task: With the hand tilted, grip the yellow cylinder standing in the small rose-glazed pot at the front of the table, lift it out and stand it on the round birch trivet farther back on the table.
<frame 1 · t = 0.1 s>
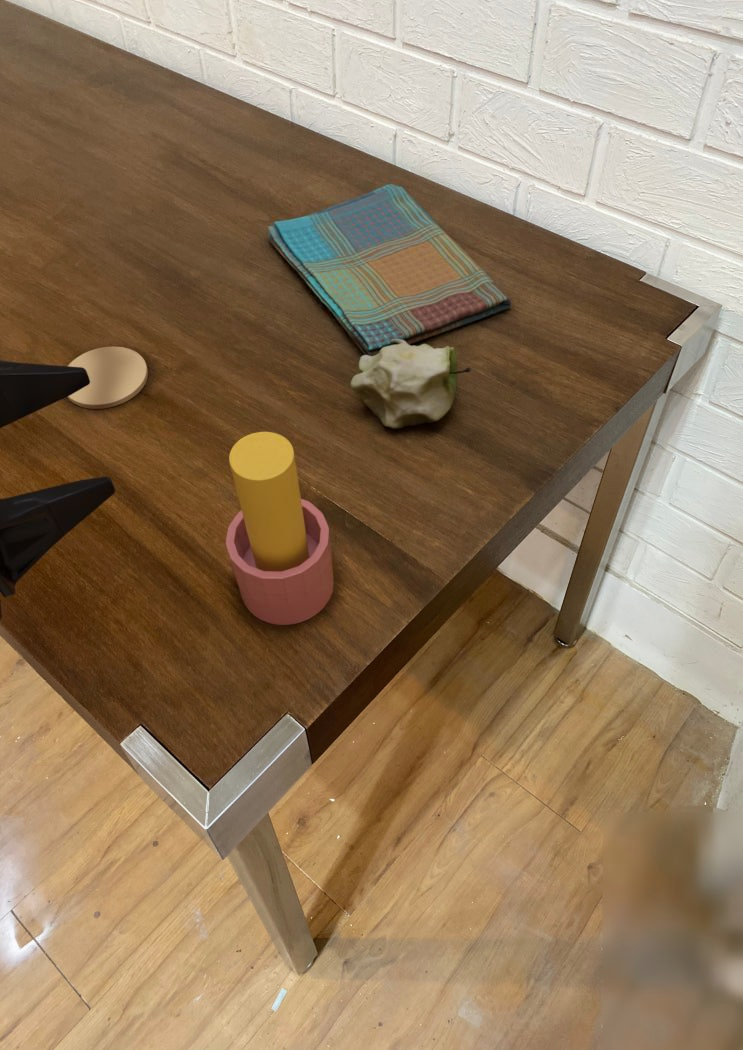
hand: (99, 426, 45), 18 cm above the table, tool horizontal, fingers open, 9 cm apart
fruit: (408, 405, 71), on the table
yellow cylinder: (283, 562, 58), point 3 cm above the table, touching pot
pot: (287, 584, 60), on the table
dish towel: (384, 275, 83), on the table
trivet: (105, 379, 74), on the table
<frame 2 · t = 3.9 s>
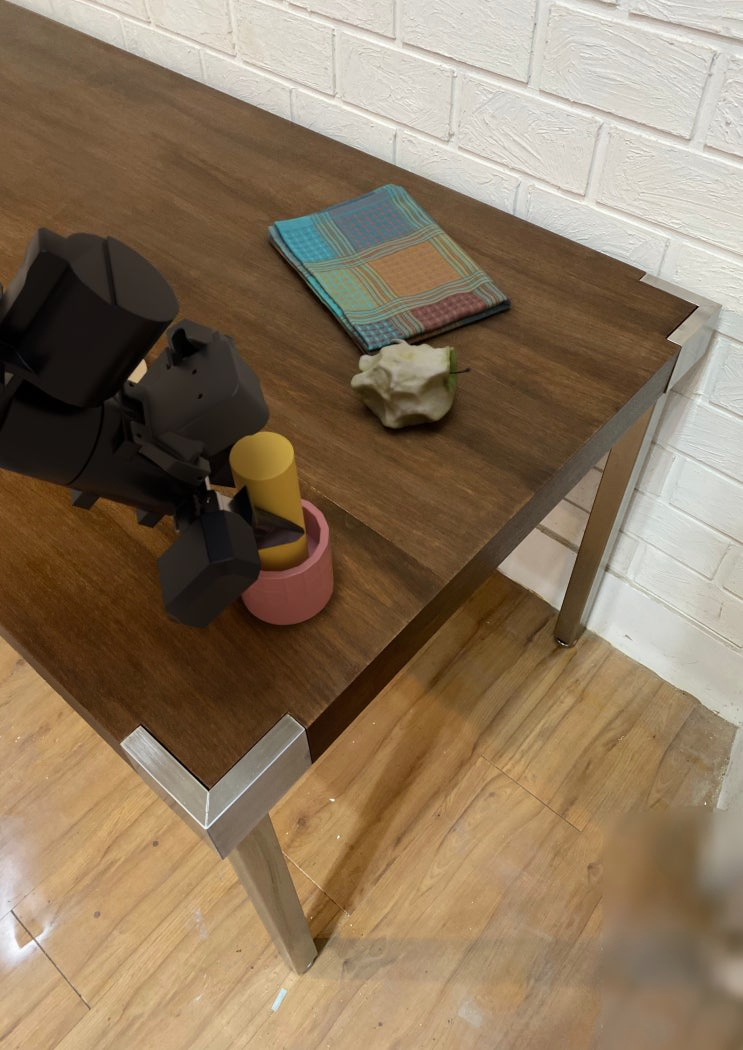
hand: (293, 511, 53), 9 cm above the table, tool tilted 45°, fingers closed on yellow cylinder, 4 cm apart
yellow cylinder: (282, 562, 58), point 3 cm above the table, touching gripper, pot
everything else where it was.
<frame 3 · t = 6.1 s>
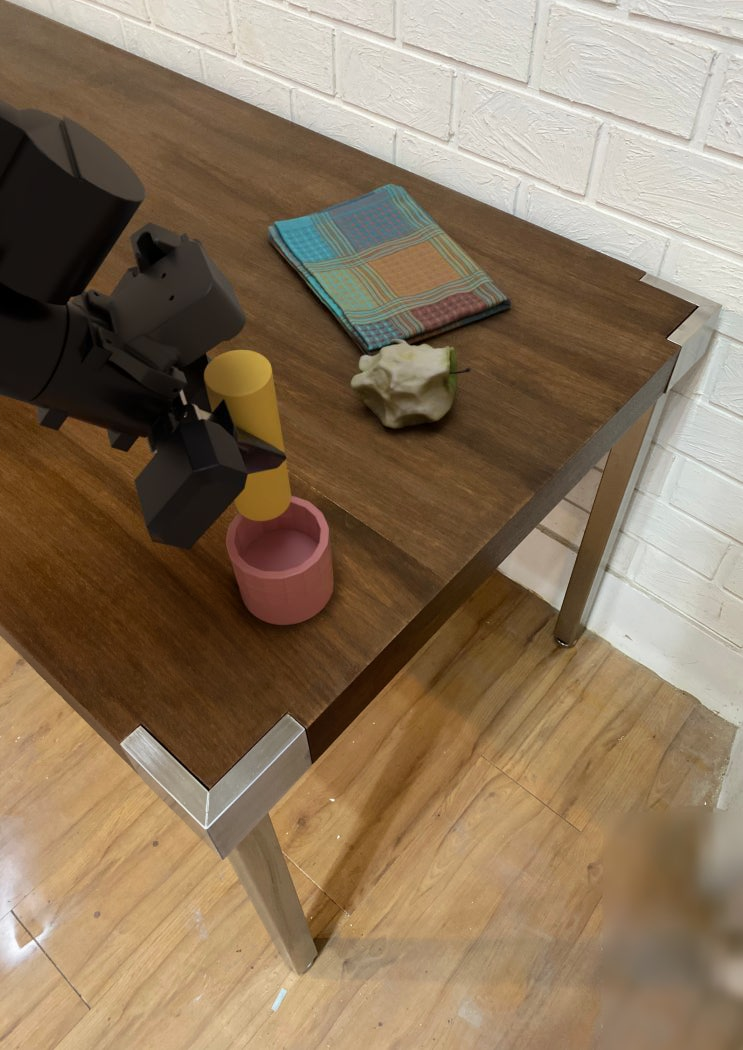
hand: (272, 438, 51), 13 cm above the table, tool tilted 45°, fingers closed on yellow cylinder, 4 cm apart
yellow cylinder: (263, 498, 55), point 8 cm above the table, touching gripper
everything else where it was.
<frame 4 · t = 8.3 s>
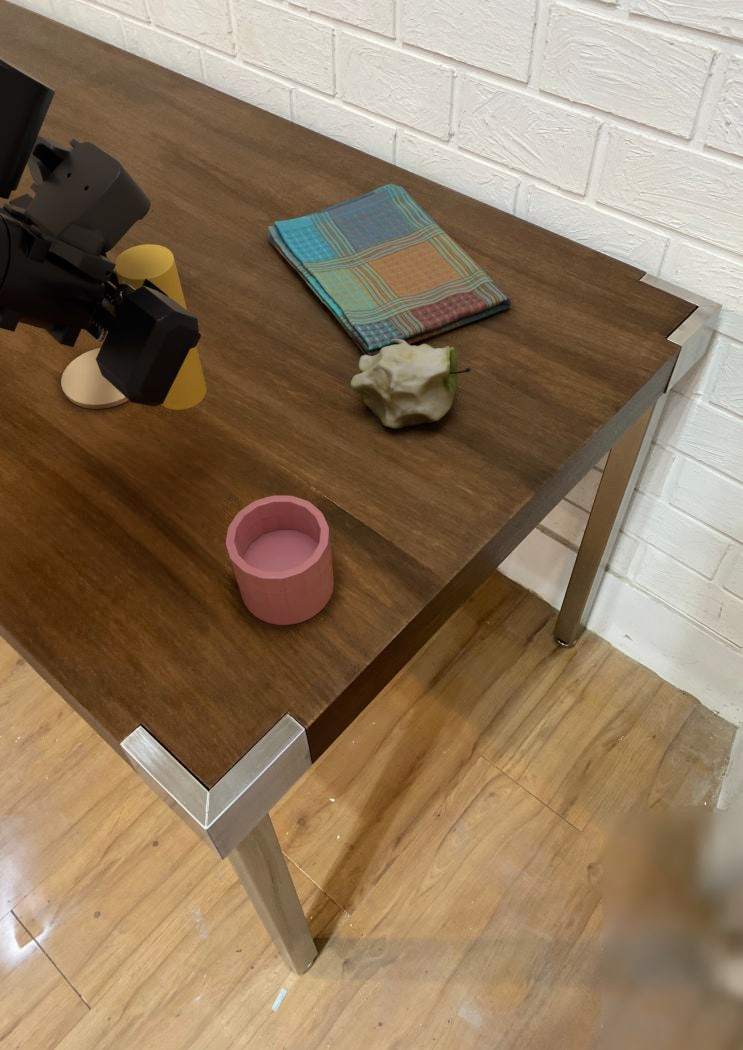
hand: (180, 326, 58), 13 cm above the table, tool tilted 45°, fingers closed on yellow cylinder, 4 cm apart
yellow cylinder: (181, 392, 62), point 8 cm above the table, touching gripper
everything else where it was.
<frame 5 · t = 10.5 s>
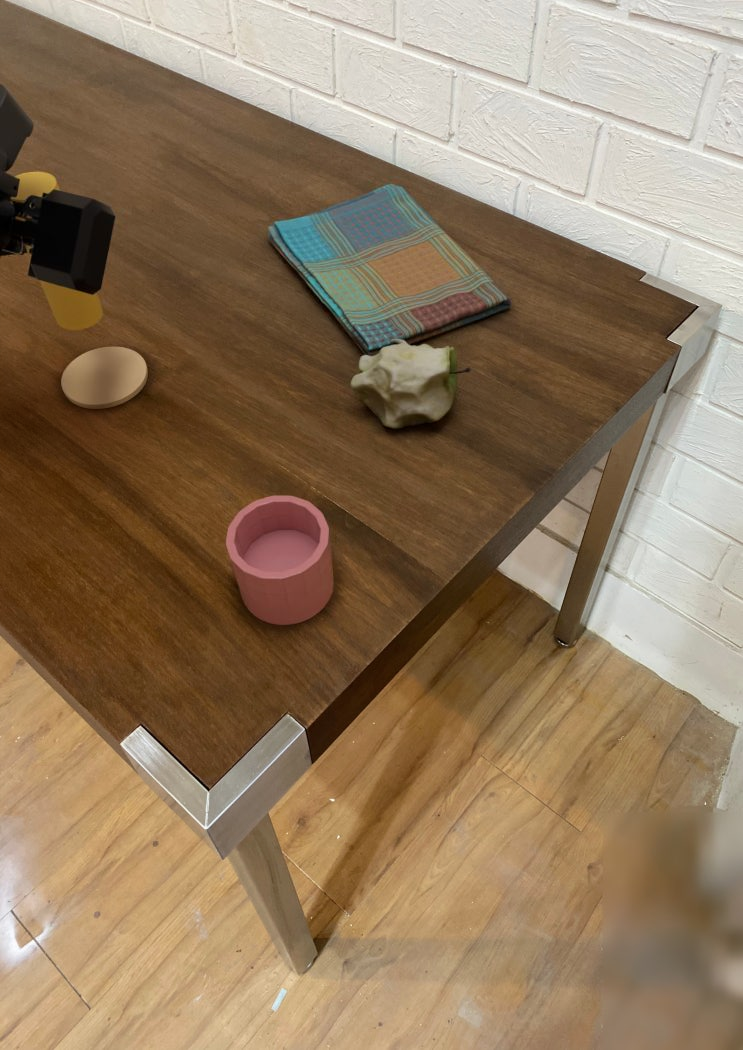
hand: (67, 248, 64), 13 cm above the table, tool tilted 45°, fingers closed on yellow cylinder, 4 cm apart
yellow cylinder: (79, 315, 68), point 8 cm above the table, touching gripper
everything else where it was.
when the fingers open (6 cm above the table, at t = 12.8 s): yellow cylinder stays where it is, resting on trivet.
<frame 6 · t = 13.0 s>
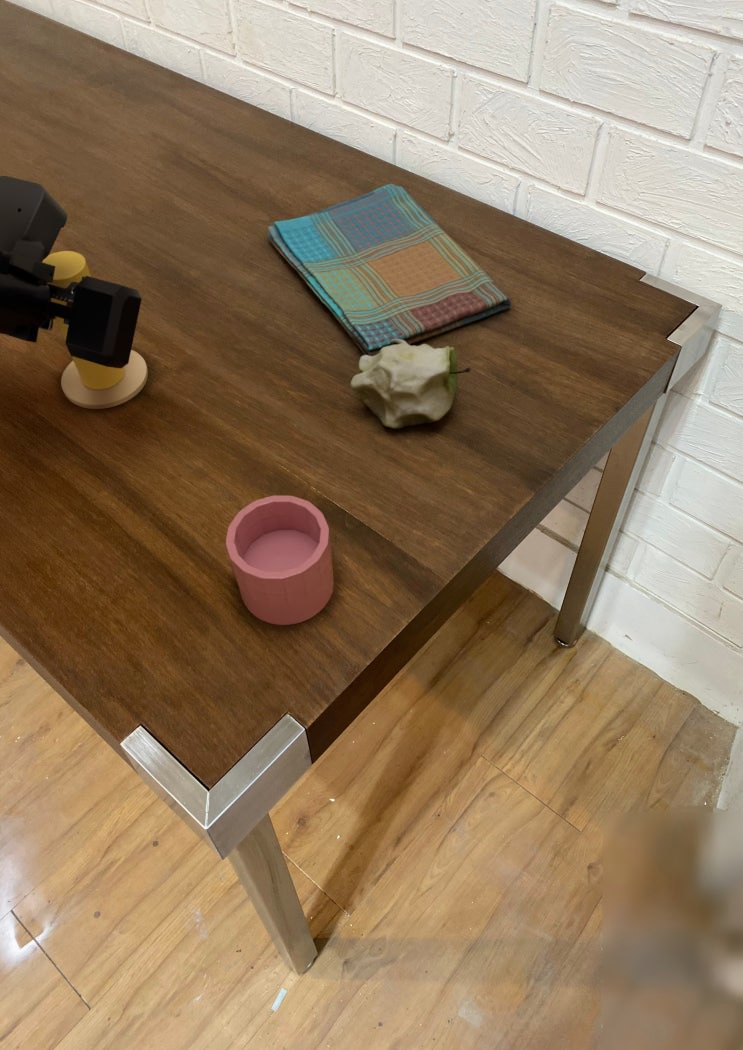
hand: (94, 316, 70), 6 cm above the table, tool tilted 45°, fingers open, 5 cm apart
yellow cylinder: (103, 375, 73), point 1 cm above the table, touching trivet
everything else where it was.
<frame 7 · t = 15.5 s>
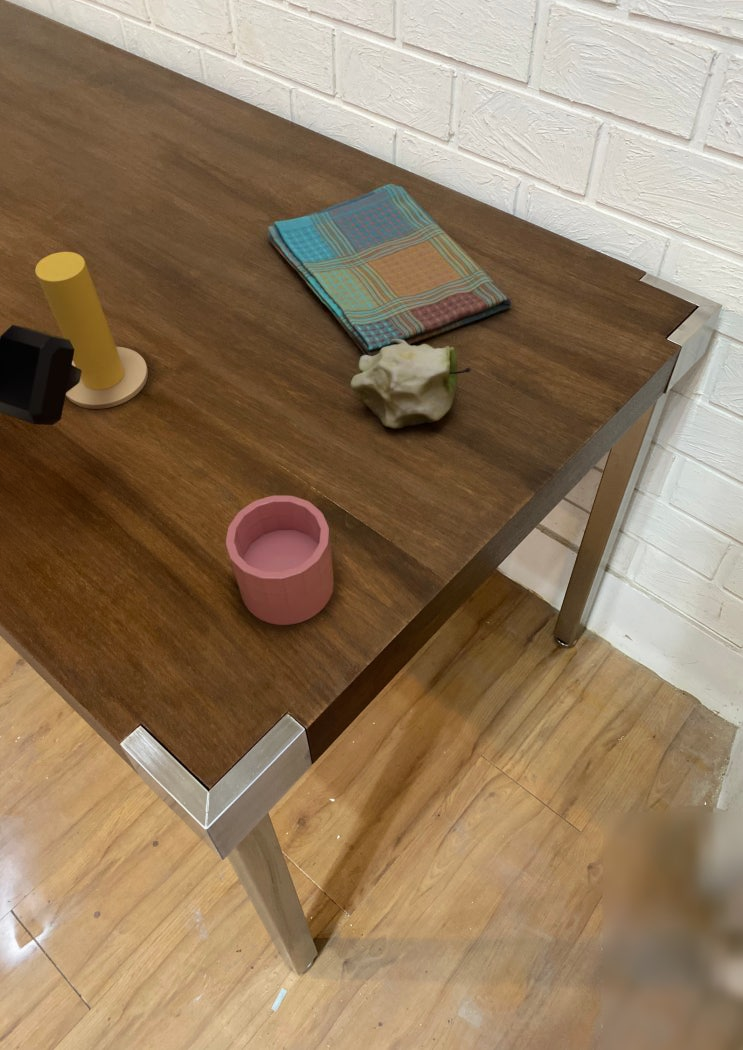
hand: (32, 361, 64), 8 cm above the table, tool tilted 45°, fingers open, 9 cm apart
nothing on the table moved.
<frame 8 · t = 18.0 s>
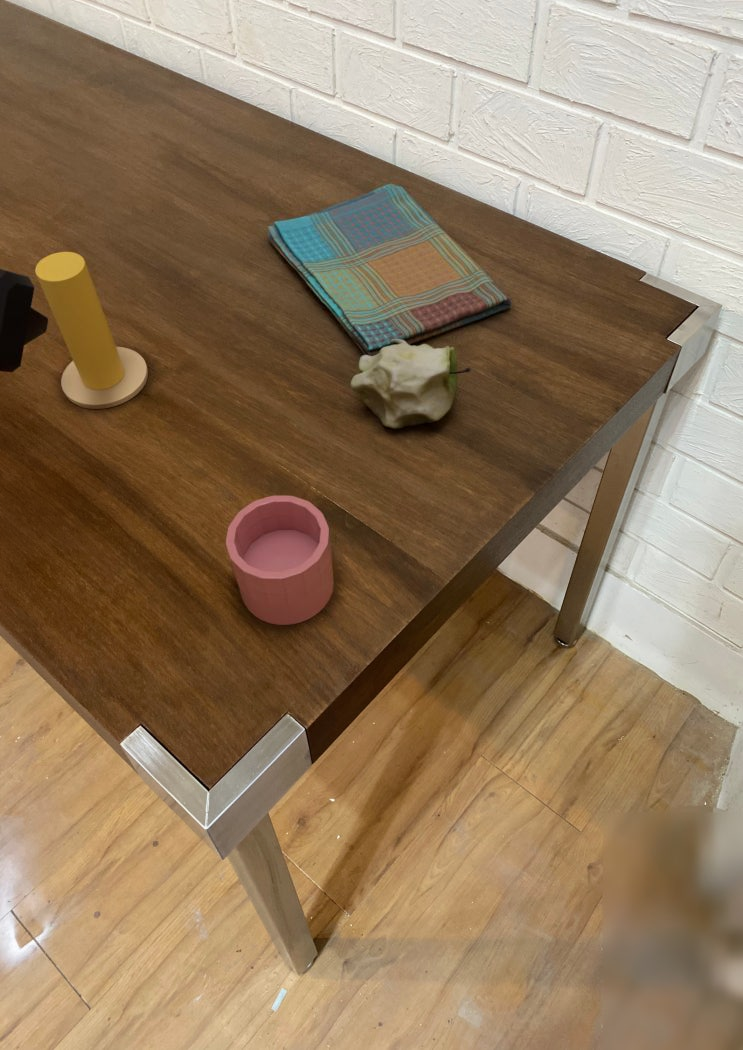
nothing on the table moved.
at the end: yellow cylinder 0.1 cm off-centre on the trivet, point 0.6 cm above the trivet's base; yellow cylinder tilted 0°; the gripper is holding nothing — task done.
